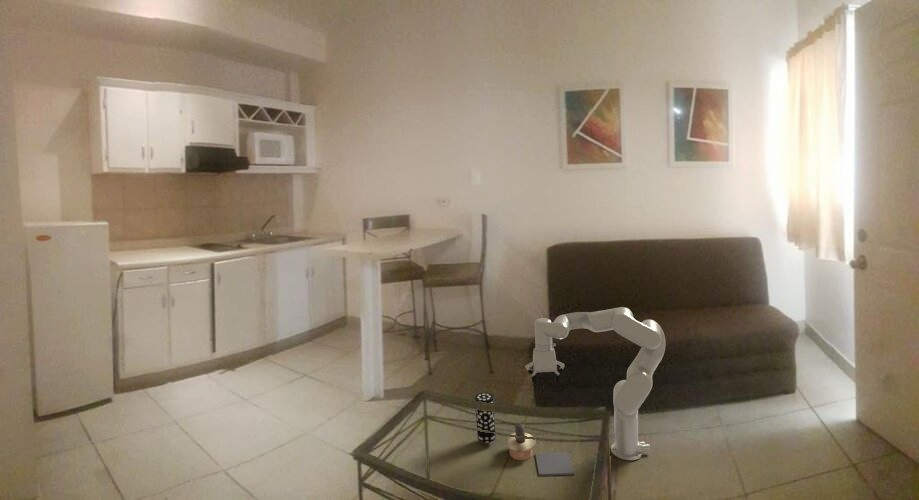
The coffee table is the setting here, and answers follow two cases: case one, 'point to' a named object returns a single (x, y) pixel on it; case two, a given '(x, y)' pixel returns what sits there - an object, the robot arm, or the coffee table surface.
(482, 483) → the coffee table surface
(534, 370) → the robot arm
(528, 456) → the bowl
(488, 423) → the white-spotted black cylinder
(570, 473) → the mat
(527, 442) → the lid
